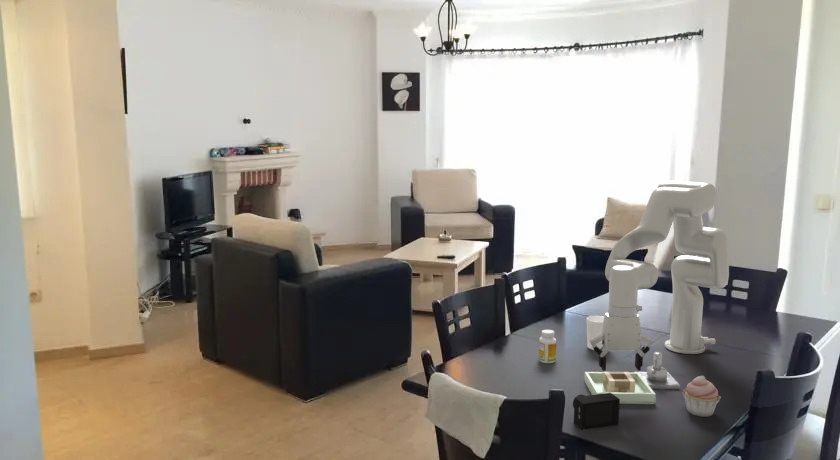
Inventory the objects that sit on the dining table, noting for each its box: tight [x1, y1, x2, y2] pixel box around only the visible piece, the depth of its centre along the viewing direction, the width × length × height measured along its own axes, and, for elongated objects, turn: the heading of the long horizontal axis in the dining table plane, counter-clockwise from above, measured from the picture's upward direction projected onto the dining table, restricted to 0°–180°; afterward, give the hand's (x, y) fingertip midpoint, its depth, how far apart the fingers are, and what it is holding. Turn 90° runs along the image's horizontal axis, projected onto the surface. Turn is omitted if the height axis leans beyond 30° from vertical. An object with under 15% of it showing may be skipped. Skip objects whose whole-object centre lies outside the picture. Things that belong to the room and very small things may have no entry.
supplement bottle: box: [538, 329, 557, 364], centre depth 210 cm, size 5×5×10 cm
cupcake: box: [682, 375, 722, 418], centre depth 172 cm, size 9×9×10 cm
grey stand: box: [637, 351, 681, 390], centre depth 192 cm, size 10×10×9 cm
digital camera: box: [572, 393, 621, 431], centre depth 166 cm, size 10×5×7 cm, turn 106°
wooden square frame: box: [602, 371, 635, 393], centre depth 185 cm, size 9×7×4 cm
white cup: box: [586, 315, 605, 351], centre depth 222 cm, size 8×8×10 cm
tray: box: [583, 371, 657, 405], centre depth 186 cm, size 16×16×3 cm
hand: (620, 368), depth 185 cm, fingers open, 9 cm apart
